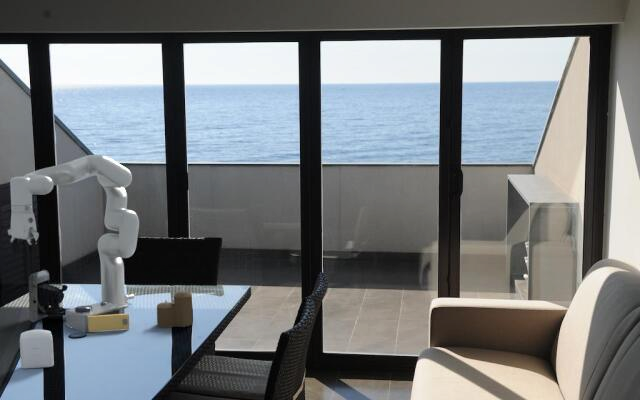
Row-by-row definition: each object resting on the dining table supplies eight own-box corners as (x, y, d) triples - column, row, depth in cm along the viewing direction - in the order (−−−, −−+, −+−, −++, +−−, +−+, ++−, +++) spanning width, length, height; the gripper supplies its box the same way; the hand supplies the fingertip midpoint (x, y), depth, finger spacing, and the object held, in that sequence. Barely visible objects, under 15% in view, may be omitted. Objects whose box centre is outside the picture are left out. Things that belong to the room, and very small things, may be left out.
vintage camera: (63, 325, 312) (64, 275, 310) (28, 322, 315) (28, 272, 313) (76, 319, 321) (76, 271, 319) (41, 316, 324) (41, 268, 322)
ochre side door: (129, 328, 304) (128, 311, 304) (129, 330, 302) (128, 313, 301) (85, 331, 300) (84, 314, 299) (85, 333, 298) (84, 316, 297)
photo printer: (19, 369, 256) (18, 332, 255) (22, 365, 261) (20, 329, 259) (52, 367, 258) (51, 331, 257) (54, 363, 262) (53, 327, 261)
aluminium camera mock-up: (105, 317, 322) (104, 298, 321) (124, 322, 314) (124, 303, 313) (66, 326, 309) (65, 307, 308) (85, 332, 300) (85, 312, 299)
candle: (200, 321, 316) (199, 284, 315) (184, 329, 304) (183, 291, 302) (170, 318, 321) (169, 282, 319) (152, 326, 308) (151, 289, 306)
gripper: (45, 209, 299) (46, 254, 301) (16, 206, 309) (18, 250, 310) (28, 211, 293) (30, 257, 295) (-1, 208, 302) (1, 252, 304)
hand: (24, 253), depth 303 cm, fingers open, 9 cm apart
